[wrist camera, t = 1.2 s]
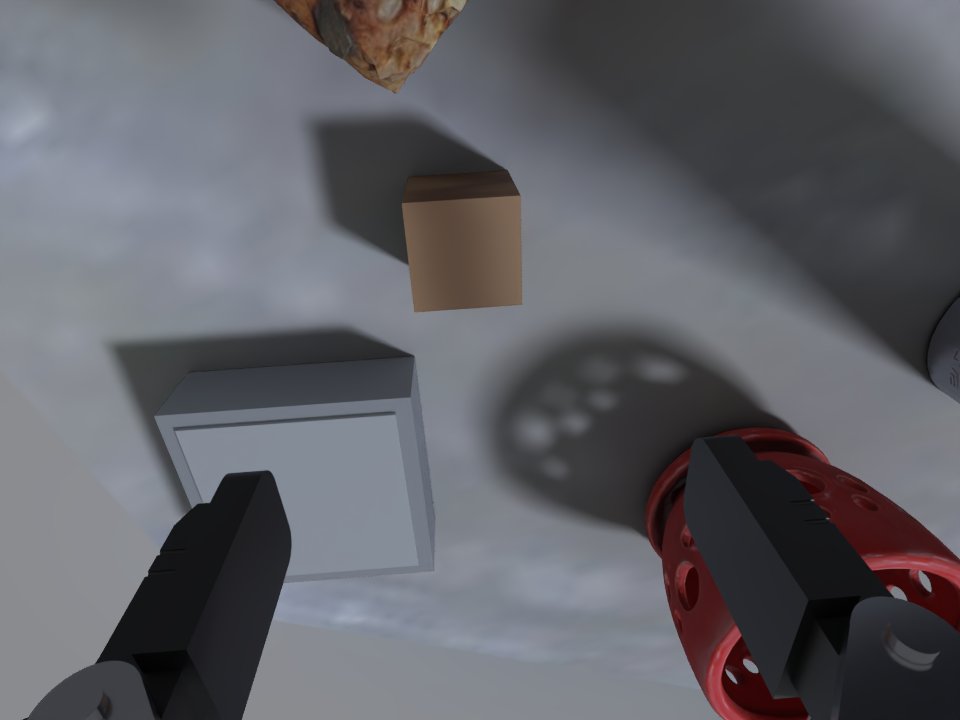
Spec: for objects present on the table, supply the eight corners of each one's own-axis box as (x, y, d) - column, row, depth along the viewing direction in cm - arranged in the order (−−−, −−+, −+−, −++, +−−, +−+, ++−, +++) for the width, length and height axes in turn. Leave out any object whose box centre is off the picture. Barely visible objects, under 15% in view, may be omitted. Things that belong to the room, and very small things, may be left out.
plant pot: (821, 539, 39) (959, 721, 28) (632, 569, 39) (700, 760, 29) (850, 381, 32) (1043, 542, 22) (624, 420, 33) (707, 595, 22)
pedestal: (414, 356, 30) (410, 399, 26) (435, 519, 36) (434, 573, 32) (188, 372, 30) (151, 418, 26) (246, 534, 35) (223, 590, 32)
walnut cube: (507, 170, 25) (520, 195, 21) (510, 264, 28) (522, 304, 23) (408, 176, 25) (401, 203, 21) (419, 270, 28) (414, 312, 23)
